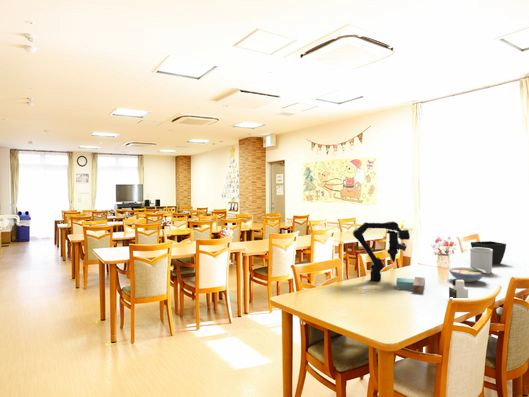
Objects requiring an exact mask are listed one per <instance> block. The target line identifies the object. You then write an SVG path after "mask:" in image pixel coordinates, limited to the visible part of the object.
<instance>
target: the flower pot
mask: <svg viewBox="0 0 529 397" xmlns="http://www.w3.org/2000/svg"><path fill="white" fill-rule="evenodd" d="M470 246H471V247H470V248H473V247H481V248H489V249H492V250H493V252H492V265H498V264H499V265H500V264H501V263H502V261H503V258H504V256H505V253H506V249H507V243H504V242H497V241H492V240H491V241H489V240H487V241H472V242H470Z"/></svg>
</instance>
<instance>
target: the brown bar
mask: <svg viewBox="0 0 529 397" xmlns="http://www.w3.org/2000/svg"><path fill="white" fill-rule="evenodd" d="M425 284H426V279H425V277H420V276H415V277H414V278H413V290H412V293H413V294H415V293H416V294H425V293H424V292H425Z"/></svg>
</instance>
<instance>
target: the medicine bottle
mask: <svg viewBox="0 0 529 397" xmlns="http://www.w3.org/2000/svg"><path fill="white" fill-rule="evenodd" d="M448 294H449V295H448V299H449V298H450V297H453V298H468V299H469V289H468V288H466V287H465V282H464V280H462V279H457V278H453V279H452V286H449V287H448Z"/></svg>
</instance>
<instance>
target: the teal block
mask: <svg viewBox="0 0 529 397" xmlns="http://www.w3.org/2000/svg"><path fill="white" fill-rule="evenodd" d="M413 282H414V278H406V277H397V278H396V285H395V286H396V287H395V288H396V289H397V290H398V289H399V290H408V291H413Z"/></svg>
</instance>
